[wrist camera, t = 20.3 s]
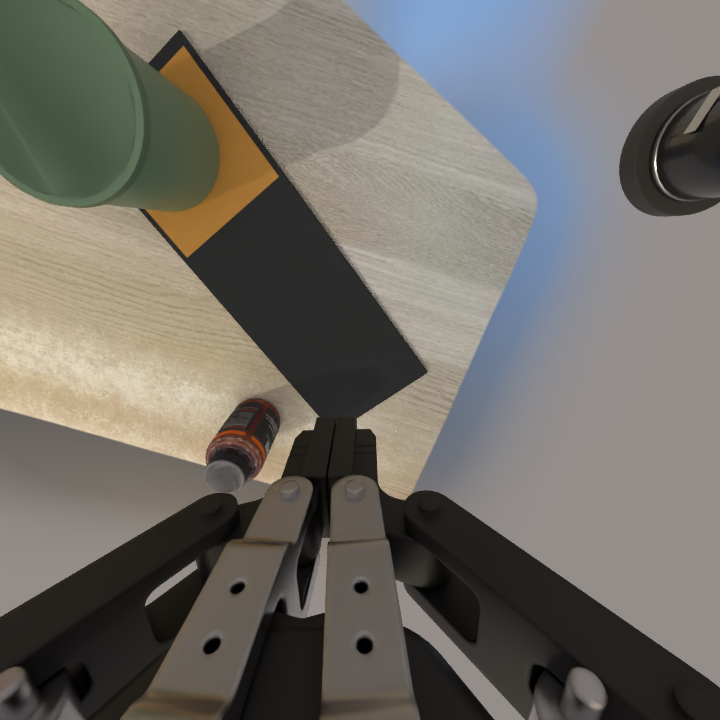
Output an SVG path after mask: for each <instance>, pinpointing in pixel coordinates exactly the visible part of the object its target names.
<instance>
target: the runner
mask: <svg viewBox="0 0 720 720" xmlns="http://www.w3.org/2000/svg"><path fill="white" fill-rule="evenodd" d="M183 46H184V47H185V49H186V50H187V51H188V53H189V54H190V55H191V57H192V58H193V60H194V61H195V62H196V64H197V65H198V66H199V68H200V69H201V70H202V72H203V73H204V75H205V76H206V77H207V79H208V80H209V81H210V83H211V84H212V86H213V87H214V88H215V90H216V91H217V92H218V94H219V95H220V97H221V98H222V99H223V101H224V102H225V103H226V105H227V106H228V107H229V109H230V110H231V112H232V113H233V114H234V116H235V117H236V118H237V120H238V121H239V123H240V124H241V125H242V127H243V128H244V129H245V131H246V132H247V134H248V135H249V136H250V138H251V139H252V140H253V142H254V143H255V145H256V146H257V147H258V149H259V150H260V151H261V153H262V154H263V155H264V157H265V158H266V160H267V161H268V162H269V164H270V165H271V166H272V168H273V169H274V171H275V172H276V173H277V175H278V176H279V177H278V178H277V179H276V180H275V181H273V182H272V183H271V184H270V185H269V186H268V187H267V188H265V189H264V190H263V191H262V192H261V193H260V194H259V195H258V196H256V197H255V198H254V199H253V200H252V201H251V202H250V203H249V204H247V205H246V206H245V207H244V208H243V209H242V210H241V211H239V212H238V213H237V214H236V215H235V216H234V217H233V218H232V219H230V220H229V221H228V222H227V223H226V224H225V225H224V226H223V227H221V228H220V229H219V230H218V231H217V232H216V233H215V234H213V235H212V236H211V237H210V238H209V239H208V240H207V241H206V242H204V243H203V244H202V245H201V246H200V247H199V248H198V249H196V250H195V251H194V252H193V253H192V254H191V255H190V256H189V257H186V256H185V255H184V254H183V252H182V251H181V250H180V249H179V248H178V247H177V245H176V244H175V243H174V242H173V241H172V240H171V238H170V237H169V236H168V235H167V234H166V233H165V232H164V230H163V229H162V228H161V227H160V226H159V225H158V223H157V222H156V221H155V220H154V219H153V218H152V216H151V215H150V214H149V213H148V212H147V211H146V210H145V209H140V208H139V210H140V211H141V212H142V213H143V214H144V215H145V216H146V218H147V219H148V220H149V221H150V222H151V223H152V225H153V226H154V227H155V228H156V229H157V230H158V231H159V233H160V234H161V235H162V236H163V237H164V238H165V240H166V241H167V242H168V243H169V244H170V245H171V246H172V248H173V249H174V250H175V251H176V252H177V253H178V254H179V256H180V257H181V258H182V259H183V260H184V261H185V263H186V264H187V265H188V266H189V267H190V268H191V269H192V271H193V272H194V273H195V274H196V275H197V276H198V277H199V279H200V280H201V281H202V282H203V283H204V284H205V286H206V287H207V288H208V289H209V290H210V291H211V292H212V294H213V295H214V296H215V297H216V298H217V299H218V300H219V302H220V303H221V304H222V305H223V306H224V307H225V309H226V310H227V311H228V312H229V313H230V314H231V315H232V317H233V318H234V319H235V320H236V321H237V322H238V324H239V325H240V326H241V327H242V328H243V329H244V330H245V332H246V333H247V334H248V335H249V336H250V337H251V338H252V340H253V341H254V342H255V343H256V344H257V345H258V347H259V348H260V349H261V350H262V351H263V352H264V353H265V355H266V356H267V357H268V358H269V359H270V360H271V361H272V363H273V364H274V365H275V366H276V367H277V368H278V370H279V371H280V372H281V373H282V374H283V375H284V376H285V378H286V379H287V380H288V381H289V382H290V383H291V384H292V386H293V387H294V388H295V389H296V390H297V391H298V393H299V394H300V395H301V396H302V397H303V398H304V399H305V401H306V402H307V403H308V404H309V405H310V406H311V408H312V409H313V410H314V411H315V412H316V413H317V414H318V416H319V417H336V418H337V417H356V418H358V417H359V416H361V415H363V414H364V413H366V412H367V411H369V410H370V409H372V408H373V407H375V406H376V405H378V404H380V403H381V402H383V401H384V400H386V399H387V398H389V397H390V396H392V395H394V394H395V393H397V392H398V391H400V390H401V389H403V388H404V387H406V386H407V385H409V384H411V383H412V382H414V381H415V380H417V379H418V378H420V377H421V376H423V375H424V374H426V373H427V371H426V369H425V368H424V366H423V365H422V364H421V362H420V361H419V360H418V358H417V357H416V355H415V354H414V353H413V351H412V350H411V349H410V347H409V346H408V344H407V343H406V342H405V340H404V339H403V337H402V336H401V335H400V333H399V332H398V331H397V329H396V328H395V326H394V325H393V324H392V322H391V321H390V319H389V318H388V317H387V315H386V314H385V313H384V311H383V310H382V308H381V307H380V306H379V304H378V303H377V302H376V300H375V299H374V297H373V296H372V295H371V293H370V292H369V290H368V289H367V288H366V286H365V285H364V284H363V282H362V281H361V279H360V278H359V277H358V275H357V274H356V272H355V271H354V270H353V268H352V267H351V266H350V264H349V263H348V261H347V260H346V259H345V257H344V256H343V255H342V253H341V252H340V250H339V249H338V248H337V246H336V245H335V243H334V242H333V241H332V239H331V238H330V237H329V235H328V234H327V232H326V231H325V230H324V228H323V227H322V225H321V224H320V223H319V221H318V220H317V219H316V217H315V216H314V214H313V213H312V212H311V210H310V209H309V208H308V206H307V205H306V203H305V202H304V201H303V199H302V198H301V196H300V195H299V194H298V192H297V191H296V190H295V188H294V187H293V185H292V184H291V183H290V181H289V180H288V178H287V177H286V176H285V174H284V173H283V172H282V170H281V169H280V167H279V166H278V165H277V163H276V162H275V161H274V159H273V158H272V156H271V155H270V154H269V152H268V151H267V149H266V148H265V147H264V145H263V144H262V143H261V141H260V140H259V138H258V137H257V136H256V134H255V133H254V131H253V130H252V129H251V127H250V126H249V125H248V123H247V122H246V120H245V119H244V118H243V116H242V115H241V114H240V112H239V111H238V109H237V108H236V107H235V105H234V104H233V102H232V101H231V100H230V98H229V97H228V96H227V94H226V93H225V91H224V90H223V89H222V87H221V86H220V84H219V83H218V82H217V80H216V79H215V78H214V76H213V75H212V73H211V72H210V71H209V69H208V68H207V67H206V65H205V64H204V62H203V61H202V60H201V58H200V57H199V55H198V54H197V53H196V51H195V50H194V49H193V47H192V46H191V44H190V43H189V42H188V40H187V39H186V37H185V36H184V35H183V33H182V32H181V31H180V30H179V31H178V32H177V33H176V34H175V35H174V36H173V37H172V38H171V39H170V41H169V42H168V43H167V44H166V45H165V46H164V47H163V48H162V49H161V50H160V51H159V53H158V54H157V55H156V56H155V57H154V58H153V59H152V60H151V61H150V62H149V63H148V64H149V65H150V66H152V67H153V68H154V69H156V70H157V71H158V72H159V71H160V70H161V69H162V68H163V67H164V66H165V65H166V64H167V63H168V62H169V61H170V60H171V59H172V57H173V56H174V55H175V54H176V53H177V52H178V51H179V50H180V49H181V48H182V47H183Z"/></svg>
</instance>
